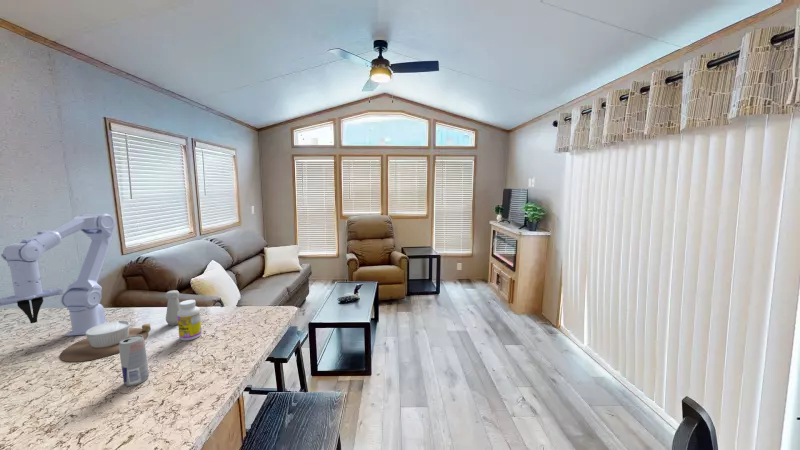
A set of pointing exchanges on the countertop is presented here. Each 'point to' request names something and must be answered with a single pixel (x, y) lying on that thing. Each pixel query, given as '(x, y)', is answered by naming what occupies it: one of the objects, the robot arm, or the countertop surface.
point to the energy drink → (133, 360)
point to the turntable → (87, 352)
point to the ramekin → (108, 333)
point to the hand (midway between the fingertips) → (33, 322)
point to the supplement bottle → (189, 320)
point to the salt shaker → (172, 307)
